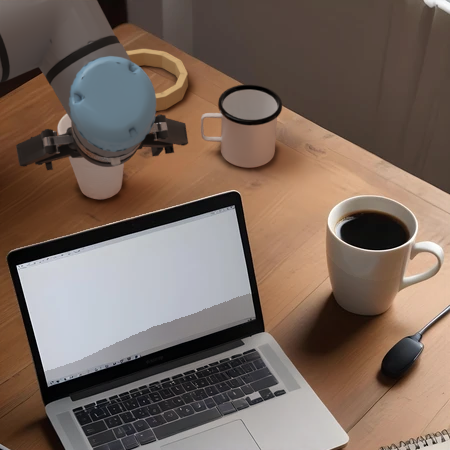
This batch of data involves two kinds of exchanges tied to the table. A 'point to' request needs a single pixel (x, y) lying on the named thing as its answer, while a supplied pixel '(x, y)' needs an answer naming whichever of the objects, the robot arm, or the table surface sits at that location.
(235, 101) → the mug
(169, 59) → the tan faceted ring
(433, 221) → the table surface
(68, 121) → the cup
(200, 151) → the table surface
